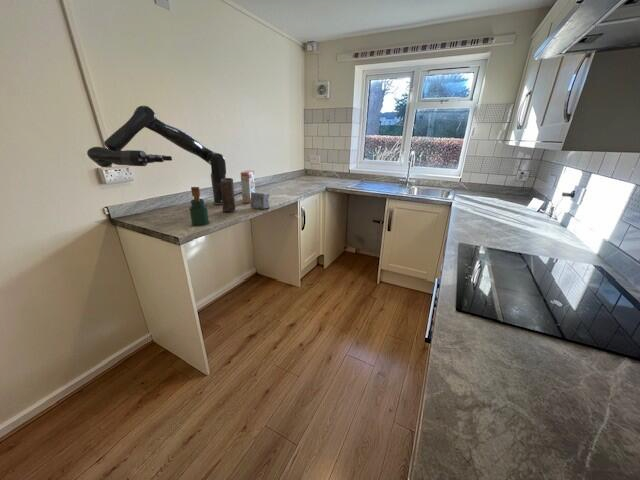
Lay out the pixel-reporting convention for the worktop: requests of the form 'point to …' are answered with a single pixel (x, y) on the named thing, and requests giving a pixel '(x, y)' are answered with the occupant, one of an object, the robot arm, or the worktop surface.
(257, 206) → the incense holder
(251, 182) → the cracker box
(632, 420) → the worktop surface
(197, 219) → the bottle
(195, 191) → the wooden spoon
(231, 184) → the candle
